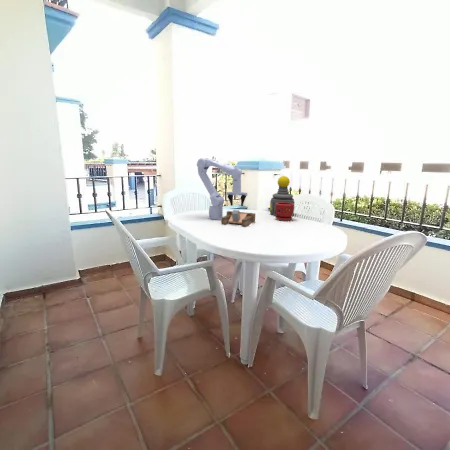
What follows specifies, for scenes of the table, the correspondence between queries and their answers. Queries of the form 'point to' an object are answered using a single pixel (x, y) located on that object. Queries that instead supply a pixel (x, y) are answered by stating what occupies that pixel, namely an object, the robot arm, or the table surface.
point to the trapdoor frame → (245, 222)
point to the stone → (235, 215)
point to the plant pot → (284, 211)
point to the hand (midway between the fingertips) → (236, 205)
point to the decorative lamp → (281, 195)
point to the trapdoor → (239, 219)
